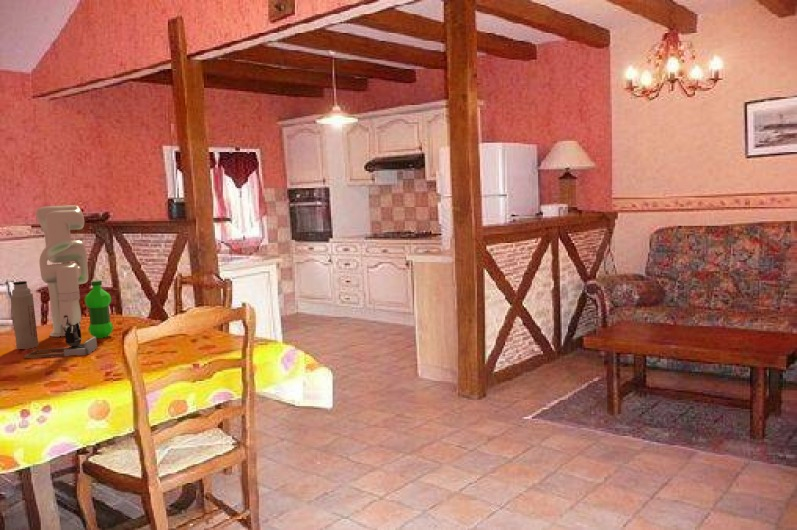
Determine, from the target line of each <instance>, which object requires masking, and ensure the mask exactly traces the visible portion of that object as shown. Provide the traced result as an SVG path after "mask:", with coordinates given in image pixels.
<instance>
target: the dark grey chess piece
mask: <svg viewBox="0 0 797 530" xmlns="http://www.w3.org/2000/svg"><path fill="white" fill-rule="evenodd" d="M68 325H70V324H68ZM69 328H70V327H69ZM77 330H78V329H77V328H76V324H75V325H73V333H74V338H75V343H66V345H68V346H69V347H66V348H67V349H79V348H82V347H81V346H77V345H79V344H82V343H81V342H82V340H83V339H82V337H81V338H79V337H78V335H77Z"/></svg>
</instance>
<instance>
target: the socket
mask: <svg viewBox="0 0 797 530" xmlns="http://www.w3.org/2000/svg"><path fill="white" fill-rule="evenodd" d="M77 346H81V347H82V348H79V349H65V350H64V351H63V353H64V356H63V357H70V356H69V355H77V356H88V355H87V354H89V355H90V354H92V353H93V352H94V351H96V350H97V349H98V343H97V338H96V337H94V336H92V337H91V338H89V339H87V340H85V342H84V343H80V344H79V345H77ZM95 349H96V350H95ZM92 351H93V352H92Z"/></svg>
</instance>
